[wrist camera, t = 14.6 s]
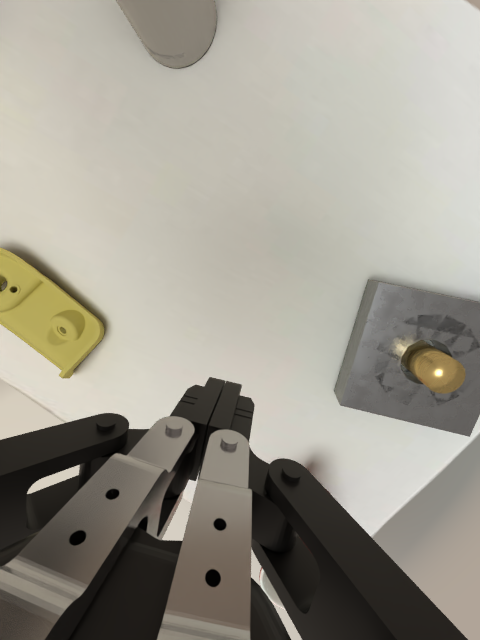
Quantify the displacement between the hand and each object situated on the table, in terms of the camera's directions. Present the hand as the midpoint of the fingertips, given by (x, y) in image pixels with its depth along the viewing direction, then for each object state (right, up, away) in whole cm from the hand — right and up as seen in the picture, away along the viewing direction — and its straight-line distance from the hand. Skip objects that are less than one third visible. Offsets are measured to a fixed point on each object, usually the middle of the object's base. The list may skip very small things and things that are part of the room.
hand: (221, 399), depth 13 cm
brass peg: (+23, -1, +25) cm, 34 cm away
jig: (+23, -1, +25) cm, 34 cm away
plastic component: (-28, +5, +31) cm, 42 cm away
